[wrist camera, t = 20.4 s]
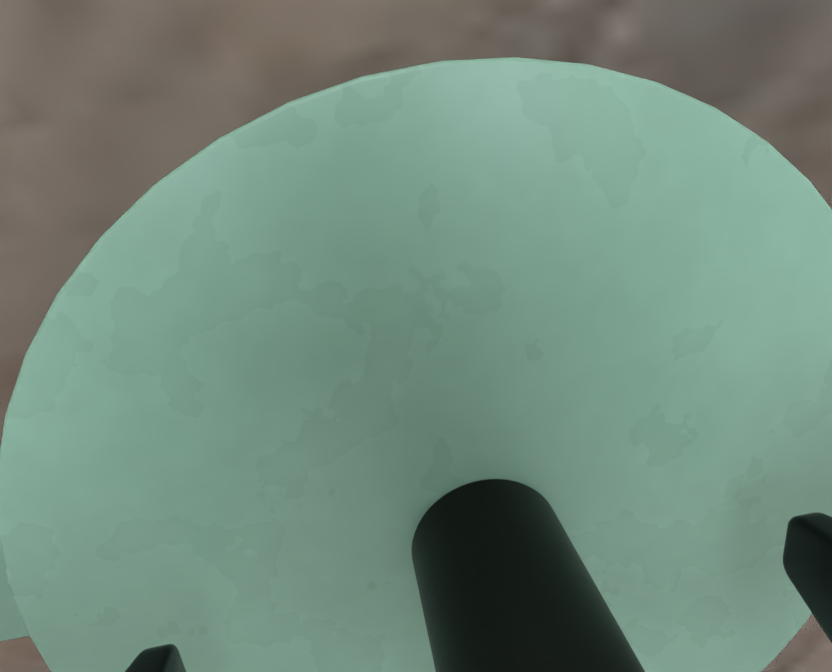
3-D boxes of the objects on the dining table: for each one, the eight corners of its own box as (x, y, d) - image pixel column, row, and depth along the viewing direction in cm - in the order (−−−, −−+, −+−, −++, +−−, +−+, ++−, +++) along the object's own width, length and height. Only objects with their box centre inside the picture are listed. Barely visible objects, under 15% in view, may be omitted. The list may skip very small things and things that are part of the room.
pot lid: (790, 688, 14) (1055, 1022, 9) (168, 836, 13) (72, 1323, 8) (908, 4, 9) (1713, -109, 4) (-145, 134, 8) (-1123, 233, 2)
